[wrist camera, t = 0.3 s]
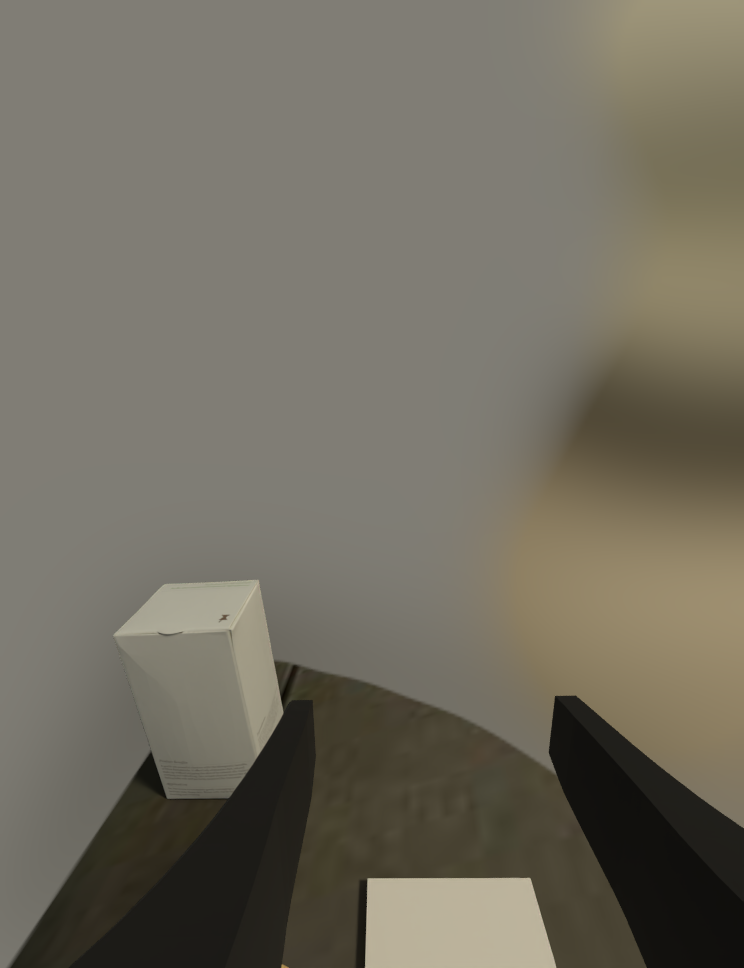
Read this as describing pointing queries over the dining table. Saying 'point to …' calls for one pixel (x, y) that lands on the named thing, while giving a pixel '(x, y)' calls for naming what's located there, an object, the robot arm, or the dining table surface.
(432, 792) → the dining table surface
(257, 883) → the robot arm
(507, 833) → the dining table surface
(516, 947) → the plate
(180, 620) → the skincare box
